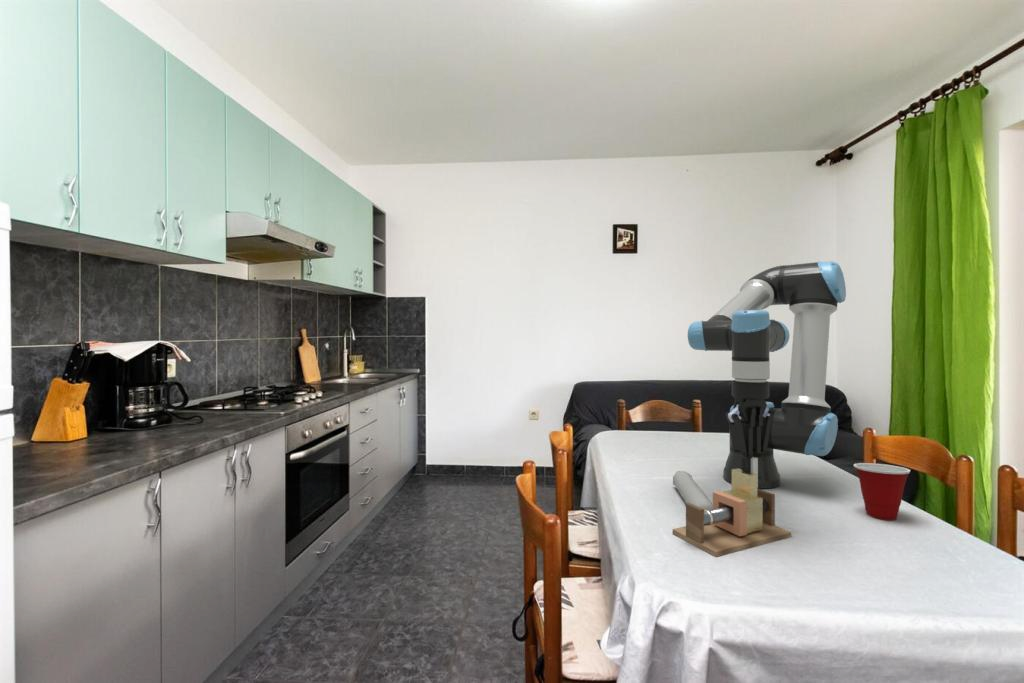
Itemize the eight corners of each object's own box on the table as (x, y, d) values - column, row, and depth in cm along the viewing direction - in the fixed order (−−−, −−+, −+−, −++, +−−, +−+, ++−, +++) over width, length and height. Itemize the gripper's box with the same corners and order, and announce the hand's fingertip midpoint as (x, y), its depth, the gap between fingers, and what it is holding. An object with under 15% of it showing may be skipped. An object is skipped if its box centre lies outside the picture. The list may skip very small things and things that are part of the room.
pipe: (759, 509, 110) (759, 496, 110) (771, 513, 108) (771, 500, 108) (689, 525, 102) (689, 511, 102) (700, 530, 99) (700, 515, 99)
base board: (744, 517, 115) (744, 483, 115) (791, 536, 104) (791, 499, 104) (672, 533, 106) (672, 497, 106) (715, 556, 95) (715, 516, 95)
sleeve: (736, 518, 110) (736, 467, 110) (762, 529, 104) (762, 475, 104) (720, 521, 108) (720, 469, 108) (745, 533, 102) (745, 478, 102)
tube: (721, 507, 111) (694, 474, 136) (698, 499, 112) (676, 467, 137) (713, 528, 112) (688, 491, 136) (691, 520, 112) (669, 485, 137)
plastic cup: (893, 508, 119) (893, 460, 119) (921, 526, 109) (921, 473, 108) (844, 506, 121) (844, 458, 121) (867, 522, 111) (867, 471, 110)
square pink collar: (719, 522, 108) (719, 490, 108) (746, 534, 102) (746, 501, 102) (712, 524, 107) (712, 492, 107) (739, 536, 101) (739, 502, 101)
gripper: (756, 377, 112) (756, 477, 113) (715, 379, 107) (715, 485, 108) (786, 380, 106) (785, 486, 106) (743, 383, 100) (743, 495, 101)
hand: (750, 485), depth 107 cm, fingers closed
